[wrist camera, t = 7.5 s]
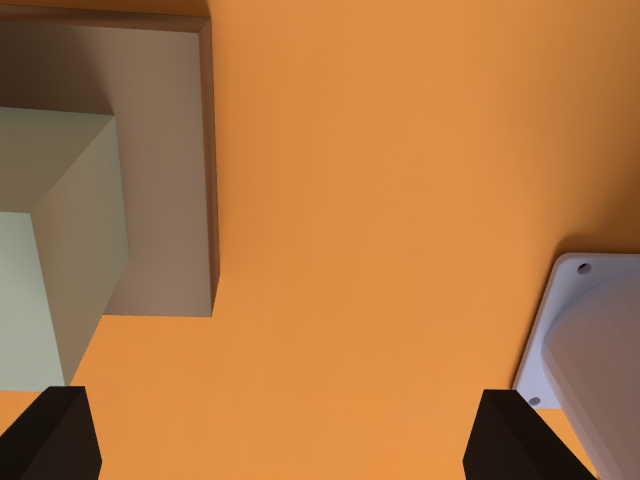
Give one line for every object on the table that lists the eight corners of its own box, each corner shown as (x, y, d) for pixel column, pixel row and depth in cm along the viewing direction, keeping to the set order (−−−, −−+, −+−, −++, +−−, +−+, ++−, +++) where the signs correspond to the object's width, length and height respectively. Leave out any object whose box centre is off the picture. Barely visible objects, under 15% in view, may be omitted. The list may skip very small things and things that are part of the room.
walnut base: (213, 14, 16) (198, 33, 13) (221, 267, 20) (211, 317, 18) (-108, -7, 15) (-189, 9, 13) (-25, 259, 20) (-72, 310, 17)
